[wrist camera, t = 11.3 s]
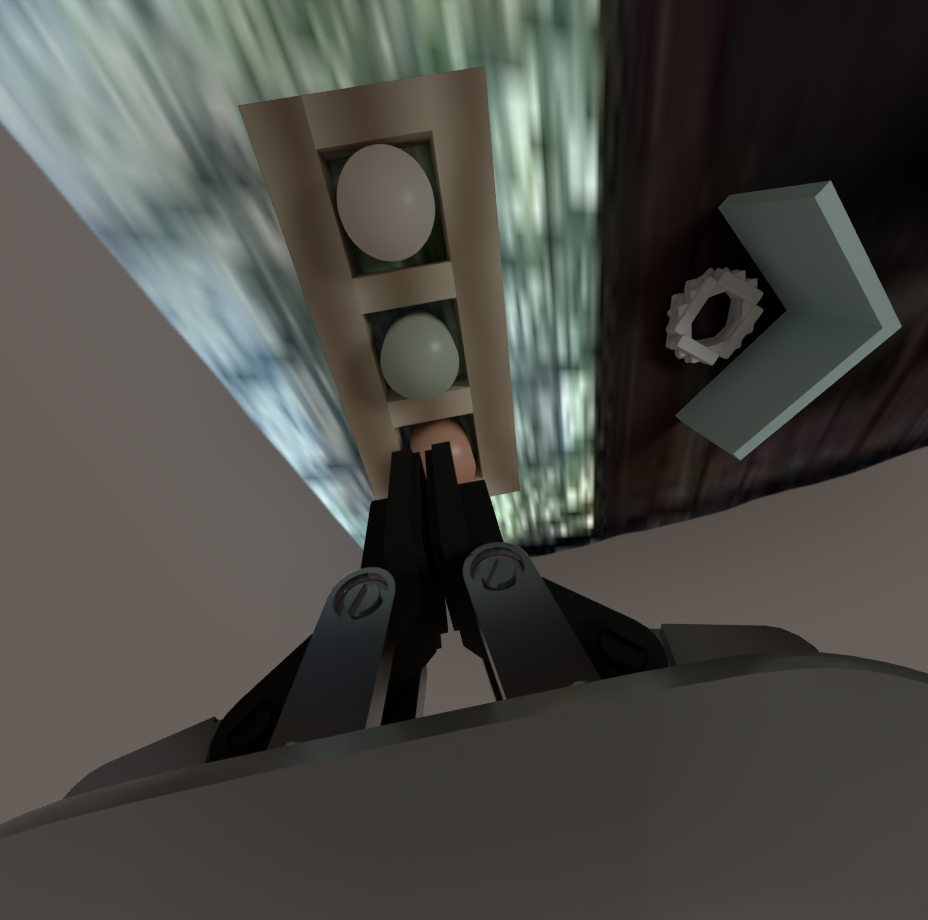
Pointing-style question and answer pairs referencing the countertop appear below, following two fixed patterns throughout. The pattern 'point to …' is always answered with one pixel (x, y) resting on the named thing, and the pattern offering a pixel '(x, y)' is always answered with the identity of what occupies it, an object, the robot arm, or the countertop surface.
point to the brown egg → (445, 432)
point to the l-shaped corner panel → (797, 330)
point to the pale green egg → (419, 355)
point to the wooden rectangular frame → (355, 296)
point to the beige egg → (385, 202)
